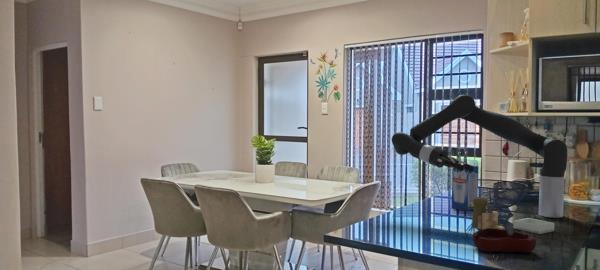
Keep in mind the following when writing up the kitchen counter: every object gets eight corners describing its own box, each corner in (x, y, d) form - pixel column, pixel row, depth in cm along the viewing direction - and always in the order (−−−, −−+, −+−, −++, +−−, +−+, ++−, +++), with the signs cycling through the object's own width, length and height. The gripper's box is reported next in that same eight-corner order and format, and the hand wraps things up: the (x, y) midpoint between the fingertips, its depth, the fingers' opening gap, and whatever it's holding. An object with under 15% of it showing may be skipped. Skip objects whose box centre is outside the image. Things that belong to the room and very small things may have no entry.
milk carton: (451, 207, 219) (452, 164, 219) (461, 206, 222) (462, 164, 221) (467, 211, 210) (468, 166, 210) (477, 210, 213) (478, 166, 212)
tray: (528, 225, 183) (528, 217, 183) (554, 230, 175) (554, 222, 175) (513, 228, 178) (513, 220, 177) (539, 234, 169) (539, 225, 169)
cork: (489, 228, 177) (490, 199, 177) (472, 227, 178) (473, 198, 178) (486, 224, 183) (487, 196, 183) (469, 224, 184) (470, 196, 184)
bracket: (493, 226, 181) (493, 202, 181) (505, 228, 177) (506, 205, 176) (477, 228, 176) (478, 204, 175) (490, 231, 171) (491, 207, 171)
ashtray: (514, 242, 158) (514, 227, 158) (540, 256, 142) (541, 240, 141) (461, 242, 157) (462, 227, 157) (482, 256, 141) (482, 239, 141)
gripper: (427, 145, 189) (463, 159, 178) (444, 148, 199) (480, 160, 188) (421, 163, 190) (457, 177, 179) (439, 164, 200) (474, 178, 189)
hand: (468, 169), depth 183 cm, fingers open, 8 cm apart
